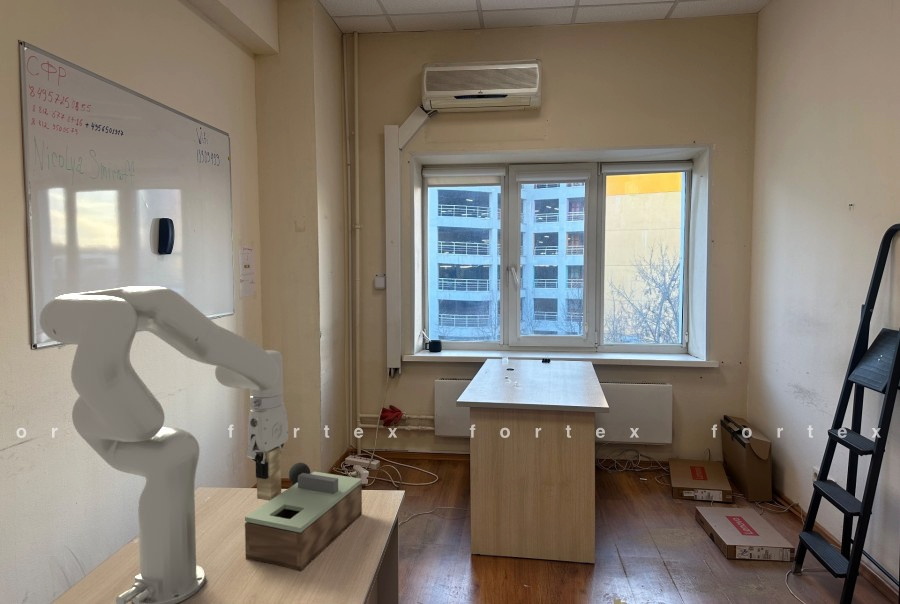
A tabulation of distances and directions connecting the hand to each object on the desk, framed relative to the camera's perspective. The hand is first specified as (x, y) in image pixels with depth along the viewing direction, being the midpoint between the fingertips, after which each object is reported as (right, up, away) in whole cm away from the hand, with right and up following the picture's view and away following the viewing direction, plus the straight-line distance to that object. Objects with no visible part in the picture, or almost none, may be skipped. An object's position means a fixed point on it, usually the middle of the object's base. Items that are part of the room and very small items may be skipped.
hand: (268, 473), depth 123 cm
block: (0, -6, 0) cm, 6 cm away
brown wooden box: (+12, -12, -5) cm, 18 cm away
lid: (+12, -4, -6) cm, 14 cm away
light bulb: (+4, -12, +13) cm, 18 cm away
